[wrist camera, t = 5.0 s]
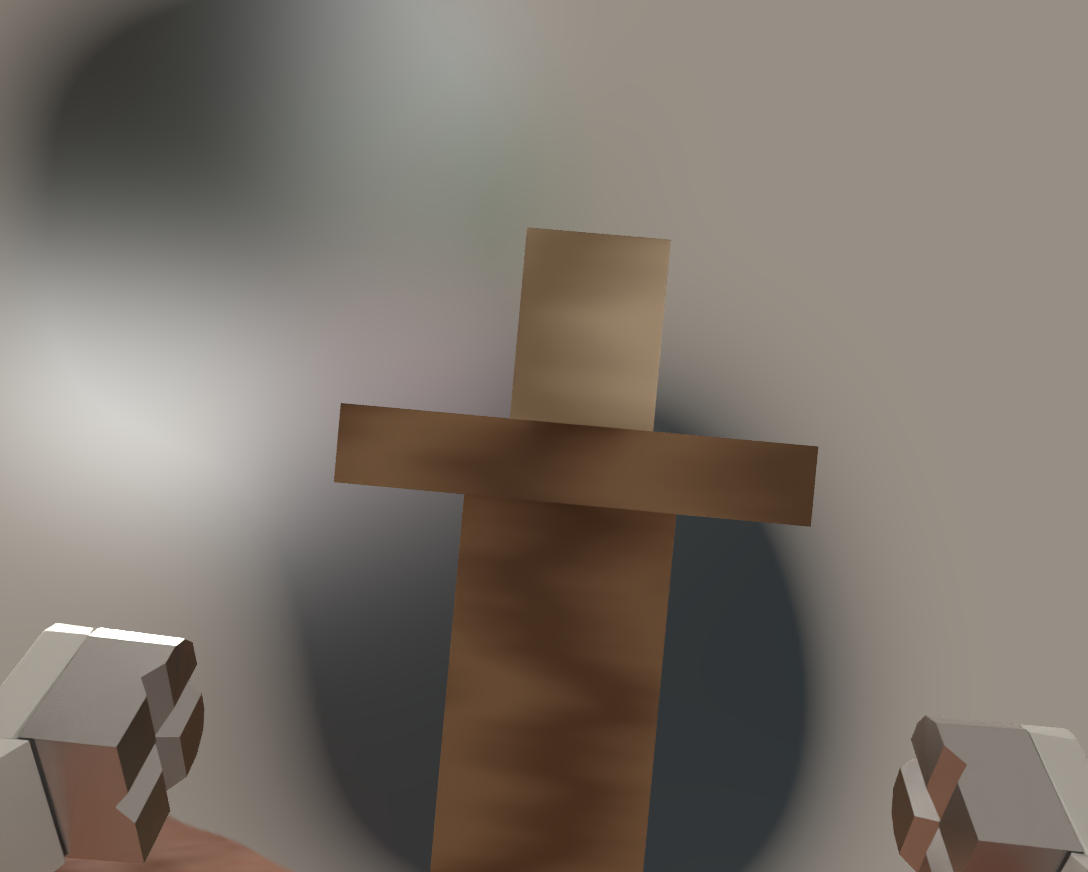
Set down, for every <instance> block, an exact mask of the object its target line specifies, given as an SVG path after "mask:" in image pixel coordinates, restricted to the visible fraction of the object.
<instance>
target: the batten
mask: <svg viewBox="0 0 1088 872" xmlns="http://www.w3.org/2000/svg"><path fill="white" fill-rule="evenodd" d="M670 242H671V240H668V239H656V238H644V237H632V236H620V235H609V234H596V233H586V232H574V231H562V230H551V229H539V228H527V236H526V247H525V258H524V268H523V279H522V290H521V301H520V312H519V323H518V324H519V325H518V334H517V346H516V357H515V368H514V380H513V390H512V401H511V412H510V418H512V419H521V420H531V421H542V422H553V423H564V424H575V425H586V426H597V427H608V428H619V429H630V430H643V431H653V425H654V415H655V404H656V393H657V383H658V371H659V361H660V350H661V339H662V328H663V318H664V307H665V296H666V285H667V275H668V263H669V253H670Z"/></svg>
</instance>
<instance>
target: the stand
mask: <svg viewBox="0 0 1088 872" xmlns="http://www.w3.org/2000/svg"><path fill="white" fill-rule="evenodd" d="M817 454H818V447H816V446H806V445H795V444H784V443H772V442H762V441H751V440H740V439H729V438H718V437H707V436H696V435H685V434H674V433H663V432H652V431H641V430H630V429H619V428H608V427H597V426H586V425H575V424H564V423H553V422H542V421H531V420H520V419H508V418H498V417H487V416H475V415H464V414H454V413H443V412H431V411H421V410H410V409H400V408H388V407H377V406H367V405H356V404H344V403H341V409H340V420H339V431H338V442H337V453H336V465H335V476H334V482H339V483H349V484H360V485H371V486H381V487H393V488H403V489H414V490H425V491H436V492H446V493H456V494H464V504H463V514H462V526H461V538H460V548H459V559H458V570H457V581H456V592H455V593H456V594H455V604H454V614H453V626H452V638H451V648H450V659H449V670H448V683H447V692H446V703H445V715H444V727H443V737H442V748H441V759H440V771H439V782H438V793H437V803H436V815H435V826H434V837H433V848H432V859H431V870H430V872H643V865H644V854H645V843H646V832H647V822H648V811H649V800H650V790H651V779H652V767H653V757H654V747H655V736H656V725H657V715H658V703H659V692H660V682H661V671H662V661H663V650H664V639H665V629H666V617H667V606H668V596H669V585H670V574H671V564H672V553H673V542H674V532H675V521H676V514H681V515H692V516H703V517H714V518H724V519H735V520H746V521H757V522H768V523H778V524H789V525H799V526H811V517H812V507H813V496H814V485H815V474H816V465H817Z"/></svg>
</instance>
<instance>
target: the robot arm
mask: <svg viewBox="0 0 1088 872" xmlns="http://www.w3.org/2000/svg"><path fill="white" fill-rule="evenodd" d="M196 665H197V661H196V656H195V652H194V647H193V643H192V642H190V641H188V640H186V639H182V638H174V637H167V636H159V635H150V634H143V633H136V632H127V631H120V630H113V629H105V628H99V629H98V628H90V627H82V626H75V625H67V624H60V623H56V624H54V625H53V626H51V627H49V628H47V629H46V630H44V631H43V632H42V633H41V634H40V636H39V637H38V638H37V640H36V641H35V642H34V643H33V645H32V646H31V647H30V649H29V650H28V651H27V653H26V654H25V655H24V656H23V658H22V659H21V661H20V662H19V663H18V664H17V666H16V667H15V668H14V670H13V671H12V672H11V673H10V675H9V676H8V677H7V679H6V680H5V681H4V683H3V684H2V685H1V686H0V872H54V871H55V870H57V869H58V868H59V867H60V866H61V865H63V864H64V863H65V857H67V858H79V859H91V860H103V861H115V862H127V863H139V864H144V863H145V861H146V859H147V857H148V855H149V853H150V851H151V849H152V847H153V845H154V843H155V841H156V839H157V837H158V835H159V833H160V831H161V829H162V827H163V825H164V823H165V820H166V818H167V816H168V814H169V812H170V807H169V802H168V797H167V792H166V791H167V790H168V789H170V788H171V787H172V786H174V785H175V784H177V783H178V782H180V781H181V780H182V779H184V778H185V777H187V775H188V773H189V770H190V768H191V766H192V764H193V762H194V759H195V757H196V755H197V752H198V748H199V744H200V740H201V736H202V732H203V724H204V704H203V698H202V693H201V692H200V691H199V690H198V689H197V688H196V687H195V686H194V685H193V684H192V683H191V682H190V681H189V679H190V677H191V675H192V673H193V671H194V669H195V667H196ZM911 741H912V744H913V747H914V750H915V754H916V757H915V758H914V759H912V760H911V761H909V762H908V763H906V764H904V765H903V766H901V767H900V770H899V773H898V776H897V779H896V782H895V785H894V788H893V800H892V821H893V829H894V835H895V839H896V843H897V847H898V851H899V854H900V855H901V856H902V857H903V858H904V859H905V861H906V862H907V863H908V864H909V865H910V866H911V867H912V868H913V869H914V870H915V871H916V872H1088V760H1087V758H1086V756H1085V754H1084V752H1083V750H1082V748H1081V746H1080V744H1079V743H1078V741H1077V739H1076V737H1075V736H1074V735H1073V734H1072V733H1071V732H1069V731H1068V730H1067V729H1063V728H1052V727H1042V726H1031V725H1021V724H1019V725H1014V724H1010V723H999V722H989V721H977V720H966V719H957V718H947V717H935V716H924V717H923V718H922V720H920V721H919V722H918V724H917V726H916V728H915V731H914V733H913V736H912V738H911Z"/></svg>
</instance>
